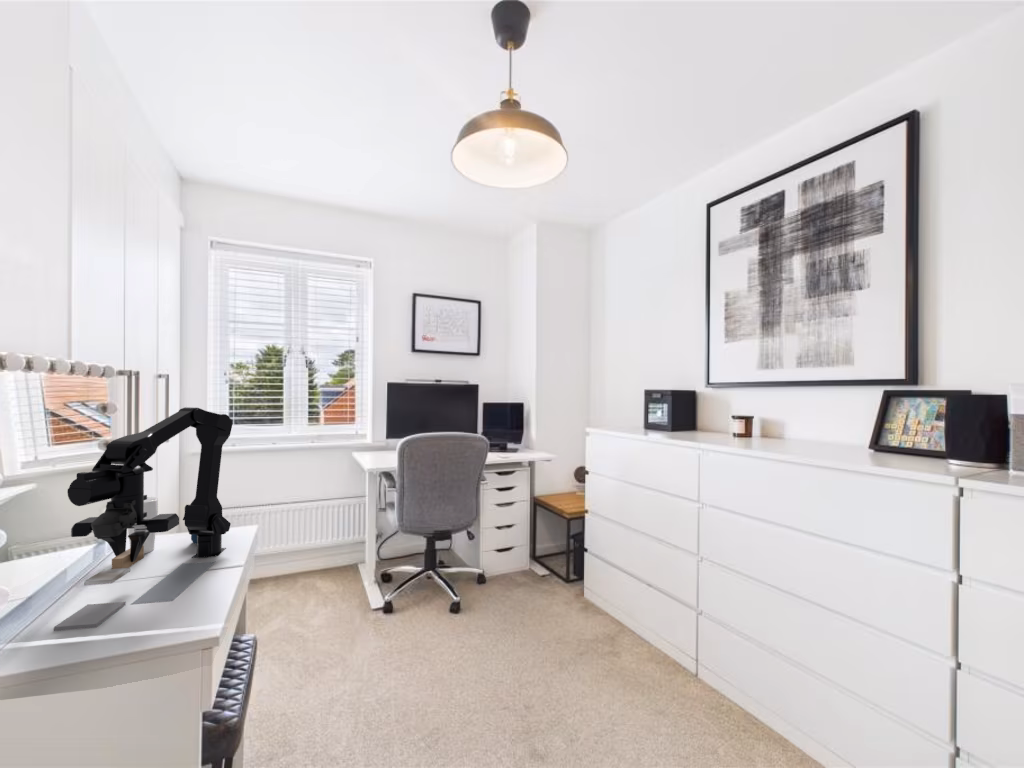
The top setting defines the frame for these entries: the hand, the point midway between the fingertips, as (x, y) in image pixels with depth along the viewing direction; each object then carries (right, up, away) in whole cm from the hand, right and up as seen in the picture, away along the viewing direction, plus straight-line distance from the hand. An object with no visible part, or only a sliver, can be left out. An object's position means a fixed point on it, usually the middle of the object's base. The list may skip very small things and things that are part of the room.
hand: (127, 561), depth 103 cm
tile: (+1, -7, -7) cm, 10 cm away
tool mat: (+7, -7, +6) cm, 12 cm away
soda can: (-5, -7, +34) cm, 35 cm away
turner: (0, -1, -2) cm, 2 cm away
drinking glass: (-16, -7, +24) cm, 30 cm away
